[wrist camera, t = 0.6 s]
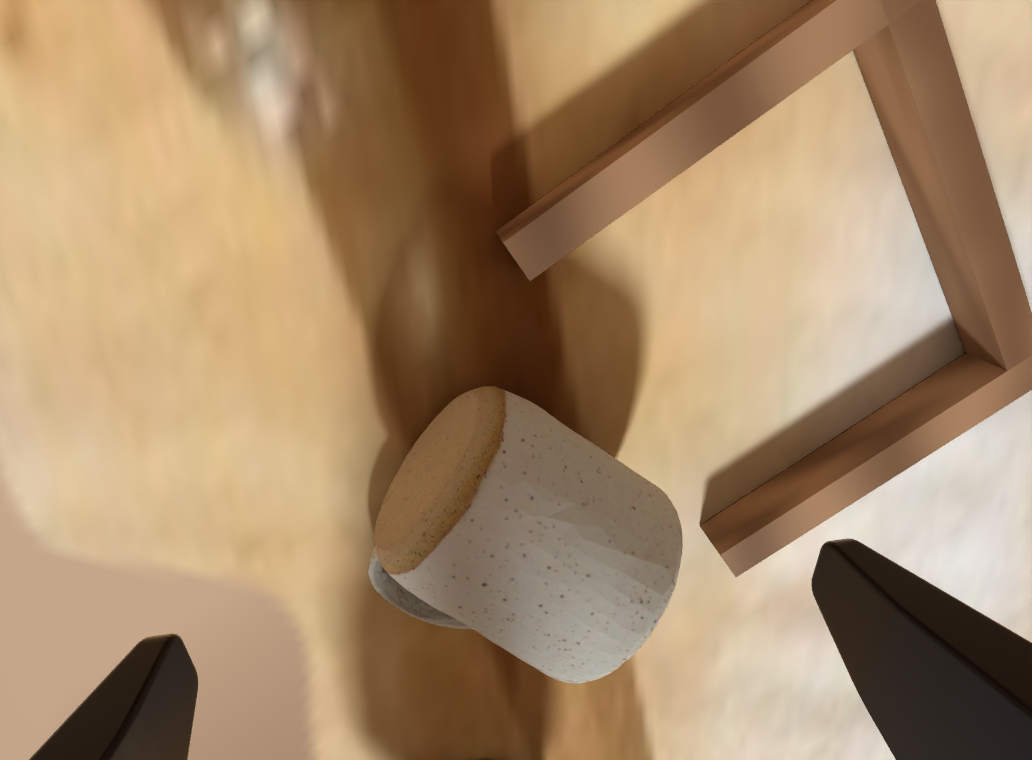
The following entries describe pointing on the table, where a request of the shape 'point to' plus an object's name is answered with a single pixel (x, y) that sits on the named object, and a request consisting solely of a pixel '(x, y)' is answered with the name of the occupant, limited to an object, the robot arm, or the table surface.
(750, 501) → the walnut corral
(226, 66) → the table surface
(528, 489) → the ceramic mug
